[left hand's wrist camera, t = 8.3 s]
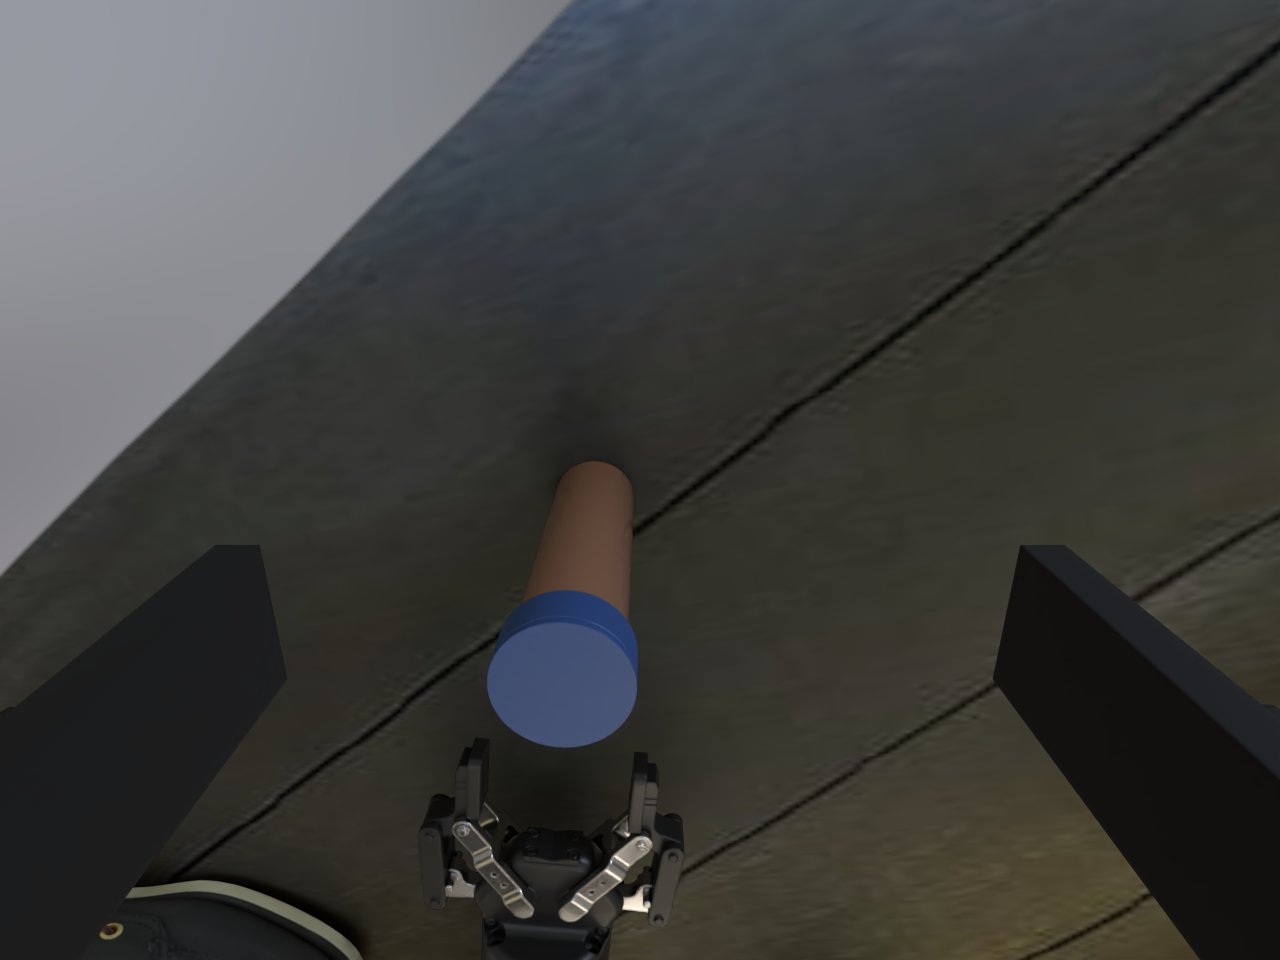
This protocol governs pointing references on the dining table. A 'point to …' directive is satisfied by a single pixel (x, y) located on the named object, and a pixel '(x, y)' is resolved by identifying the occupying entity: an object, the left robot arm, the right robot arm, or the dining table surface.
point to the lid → (564, 669)
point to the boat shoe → (214, 927)
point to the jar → (587, 537)
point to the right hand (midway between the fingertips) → (559, 755)
